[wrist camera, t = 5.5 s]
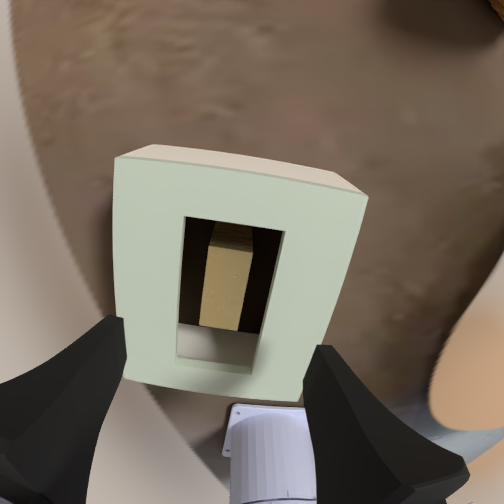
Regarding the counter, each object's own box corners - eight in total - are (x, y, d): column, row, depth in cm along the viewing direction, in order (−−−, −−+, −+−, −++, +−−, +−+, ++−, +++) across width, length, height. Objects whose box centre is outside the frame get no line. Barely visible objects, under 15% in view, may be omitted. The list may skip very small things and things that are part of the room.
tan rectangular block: (238, 290, 20) (237, 330, 16) (207, 285, 20) (198, 325, 16) (251, 223, 18) (252, 253, 14) (216, 217, 18) (208, 245, 14)
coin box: (288, 343, 21) (297, 401, 17) (145, 324, 21) (124, 378, 16) (334, 172, 17) (368, 196, 12) (152, 144, 16) (114, 157, 11)
